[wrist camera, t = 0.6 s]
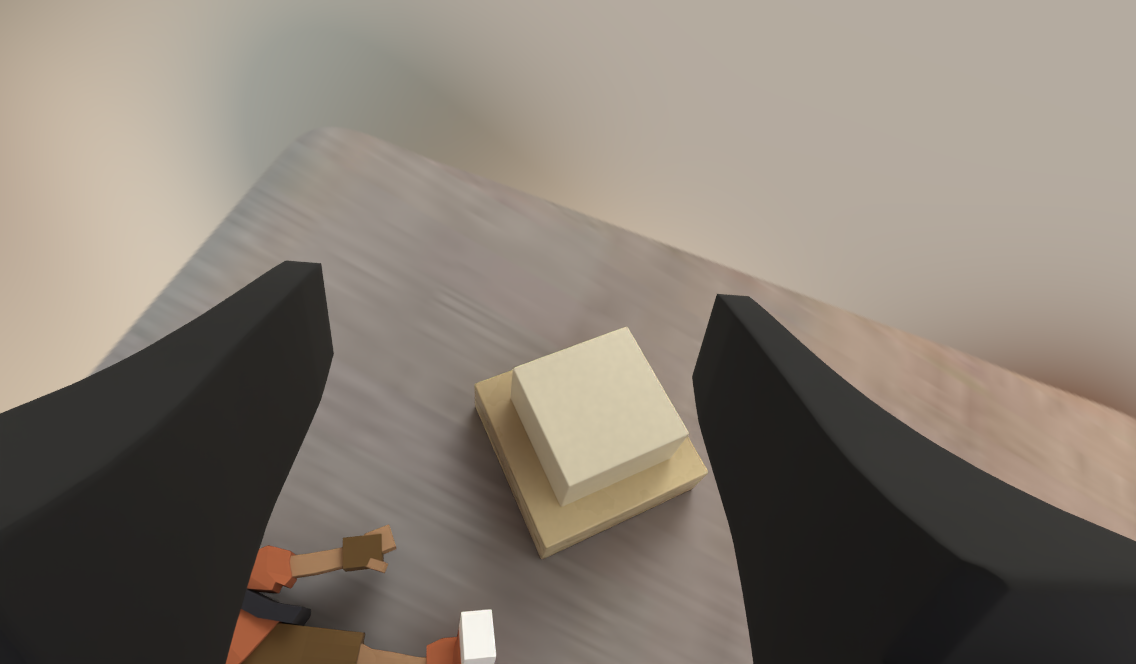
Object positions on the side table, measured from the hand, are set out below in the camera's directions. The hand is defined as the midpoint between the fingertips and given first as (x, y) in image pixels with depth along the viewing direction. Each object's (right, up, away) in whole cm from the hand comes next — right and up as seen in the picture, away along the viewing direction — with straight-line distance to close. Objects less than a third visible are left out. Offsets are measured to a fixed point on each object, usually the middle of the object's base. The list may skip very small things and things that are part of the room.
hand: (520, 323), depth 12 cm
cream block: (+2, -4, +17) cm, 18 cm away
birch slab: (+2, -6, +19) cm, 20 cm away
